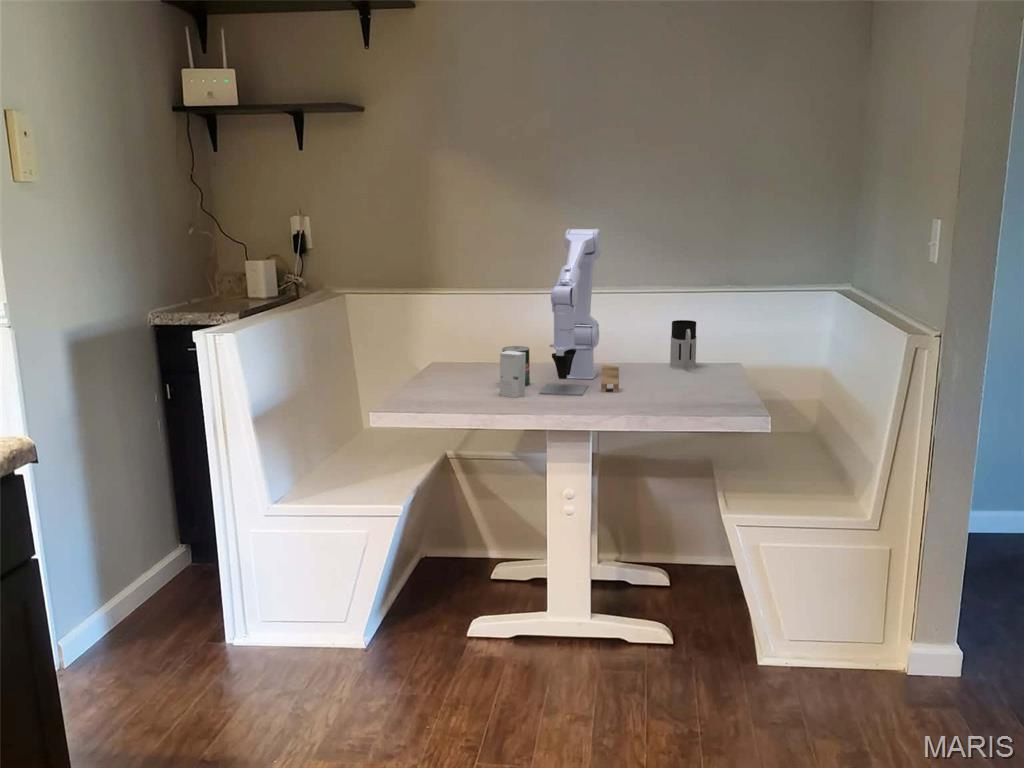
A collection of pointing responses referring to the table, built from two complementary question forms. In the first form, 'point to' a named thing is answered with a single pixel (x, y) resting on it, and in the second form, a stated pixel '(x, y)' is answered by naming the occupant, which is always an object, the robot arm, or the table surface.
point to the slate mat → (564, 389)
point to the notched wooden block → (610, 377)
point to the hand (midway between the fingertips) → (564, 376)
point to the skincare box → (512, 373)
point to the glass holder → (683, 345)
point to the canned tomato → (527, 373)
